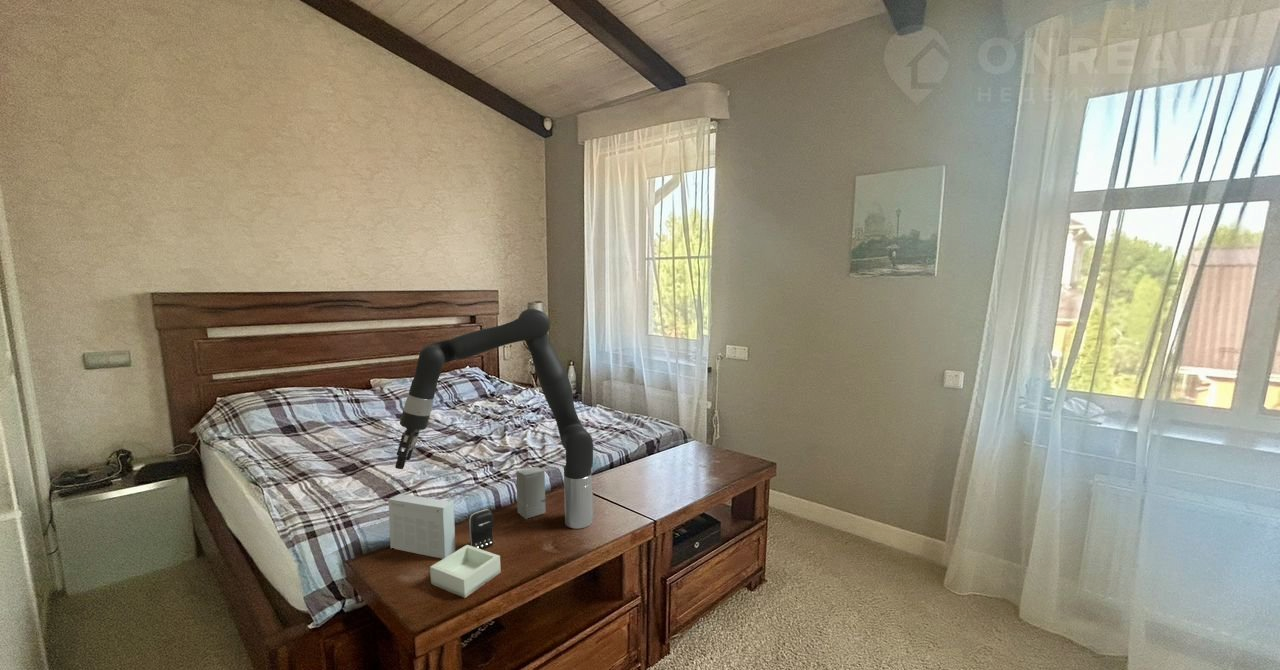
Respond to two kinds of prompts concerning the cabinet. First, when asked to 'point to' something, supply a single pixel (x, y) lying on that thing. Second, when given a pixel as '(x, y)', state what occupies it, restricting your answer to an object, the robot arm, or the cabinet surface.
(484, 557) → the bin
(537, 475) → the skincare box
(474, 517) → the battery charger
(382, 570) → the cabinet surface
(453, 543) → the skincare box
